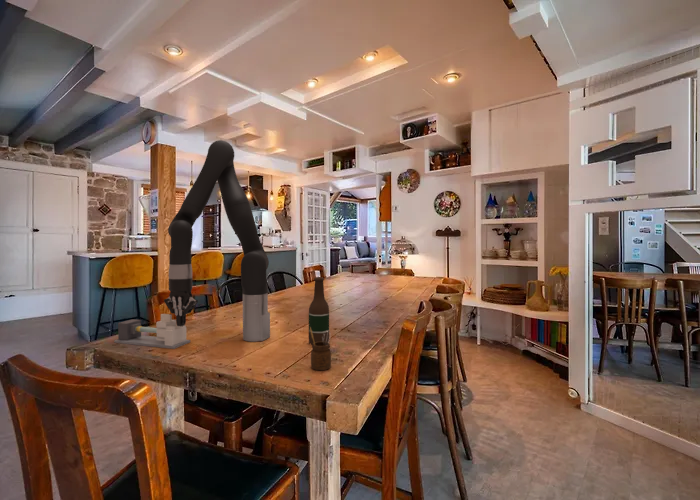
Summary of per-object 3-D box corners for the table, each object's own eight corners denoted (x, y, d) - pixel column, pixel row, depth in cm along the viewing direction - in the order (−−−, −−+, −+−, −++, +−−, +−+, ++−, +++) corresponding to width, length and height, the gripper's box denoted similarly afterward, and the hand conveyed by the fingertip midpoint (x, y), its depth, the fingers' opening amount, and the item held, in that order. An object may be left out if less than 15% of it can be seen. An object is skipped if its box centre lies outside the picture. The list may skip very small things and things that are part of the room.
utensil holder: (331, 370, 100) (331, 329, 100) (309, 371, 99) (309, 329, 99) (330, 363, 106) (331, 324, 105) (310, 363, 105) (310, 324, 105)
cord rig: (190, 342, 126) (190, 322, 126) (173, 348, 119) (173, 328, 118) (133, 336, 133) (133, 318, 133) (114, 342, 126) (114, 322, 125)
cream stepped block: (176, 337, 126) (175, 313, 126) (165, 340, 121) (165, 316, 121) (167, 336, 127) (166, 312, 127) (156, 340, 122) (156, 315, 122)
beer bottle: (333, 340, 129) (333, 276, 128) (323, 346, 122) (323, 279, 121) (315, 338, 132) (315, 275, 132) (304, 343, 125) (304, 277, 124)
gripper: (203, 276, 124) (204, 324, 124) (173, 275, 127) (173, 321, 128) (188, 278, 117) (189, 329, 117) (156, 277, 120) (157, 326, 121)
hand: (181, 325), depth 122 cm, fingers closed
